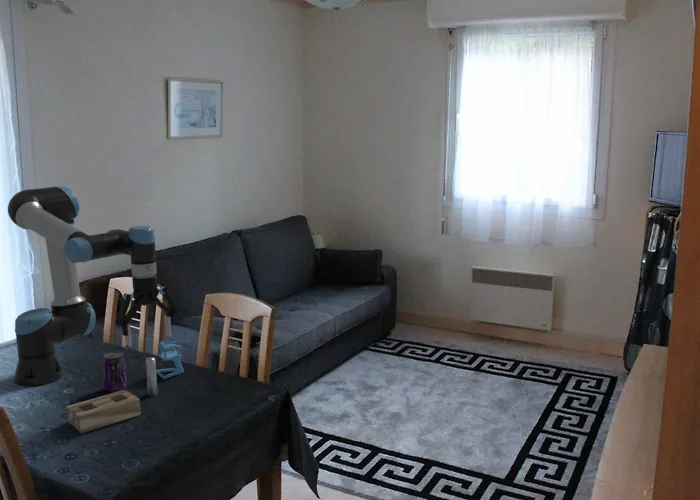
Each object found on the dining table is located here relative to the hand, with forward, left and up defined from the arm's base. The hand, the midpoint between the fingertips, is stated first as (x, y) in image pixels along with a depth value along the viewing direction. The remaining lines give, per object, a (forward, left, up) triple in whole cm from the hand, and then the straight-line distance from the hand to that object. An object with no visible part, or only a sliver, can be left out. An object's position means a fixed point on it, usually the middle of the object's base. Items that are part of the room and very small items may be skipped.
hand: (149, 340), depth 218 cm
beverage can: (-12, -7, -19) cm, 23 cm away
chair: (-12, +13, -19) cm, 26 cm away
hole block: (+7, -19, -18) cm, 27 cm away
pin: (0, 0, -18) cm, 18 cm away
